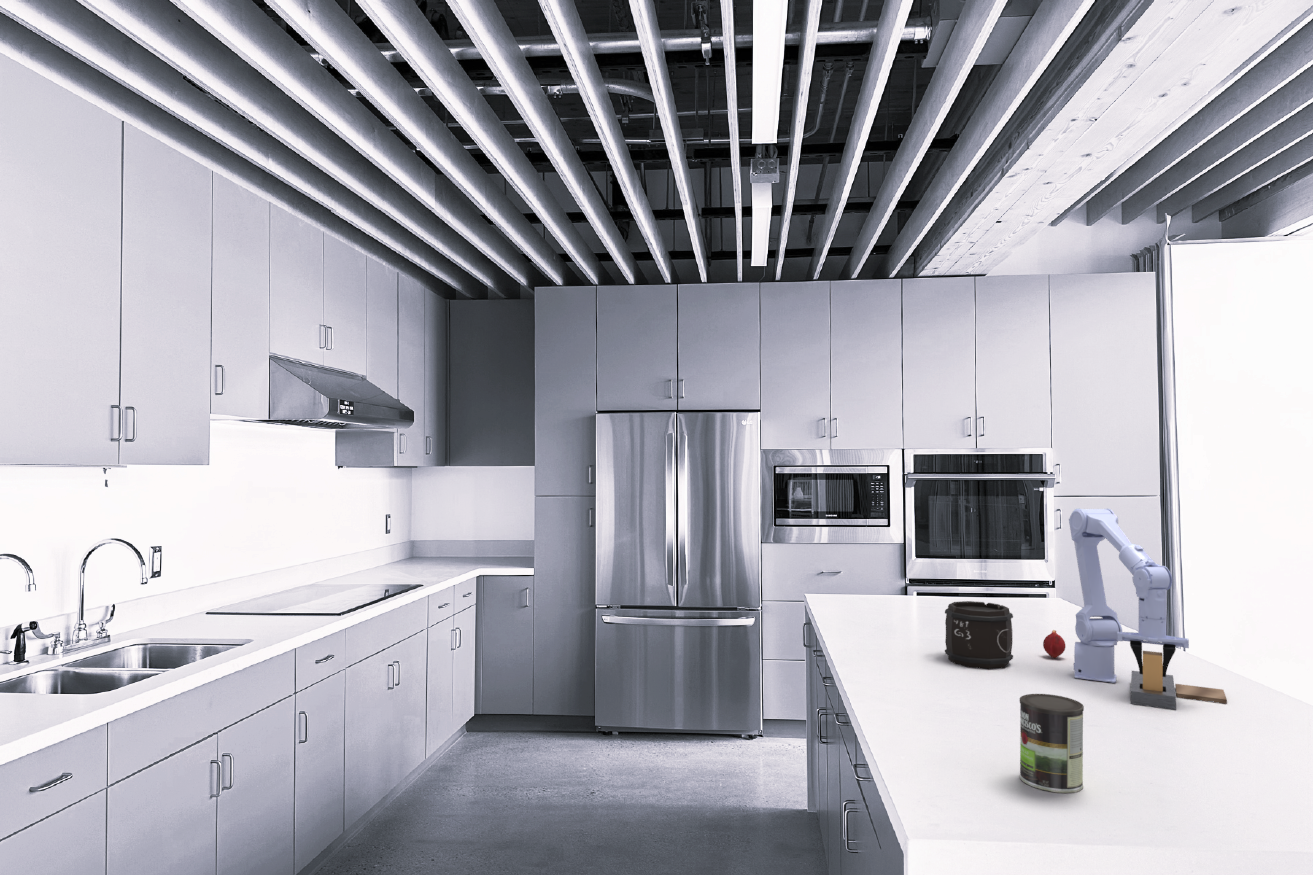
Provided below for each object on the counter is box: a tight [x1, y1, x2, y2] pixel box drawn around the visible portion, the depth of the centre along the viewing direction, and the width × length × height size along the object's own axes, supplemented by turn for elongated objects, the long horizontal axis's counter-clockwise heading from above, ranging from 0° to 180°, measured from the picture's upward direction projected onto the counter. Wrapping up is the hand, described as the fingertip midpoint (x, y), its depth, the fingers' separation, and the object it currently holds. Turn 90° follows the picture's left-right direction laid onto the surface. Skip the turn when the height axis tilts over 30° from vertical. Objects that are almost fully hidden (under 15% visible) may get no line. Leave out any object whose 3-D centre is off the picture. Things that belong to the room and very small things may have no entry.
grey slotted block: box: [1130, 670, 1177, 711], centre depth 203 cm, size 9×22×3 cm, turn 150°
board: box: [1174, 683, 1228, 705], centre depth 203 cm, size 10×10×1 cm
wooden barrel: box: [944, 600, 1014, 670], centre depth 235 cm, size 18×18×16 cm
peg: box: [1142, 650, 1163, 692], centre depth 199 cm, size 4×4×9 cm
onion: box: [1042, 629, 1067, 659], centre depth 240 cm, size 6×6×8 cm
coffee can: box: [1019, 693, 1085, 794], centre depth 148 cm, size 10×10×14 cm
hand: (1152, 674), depth 199 cm, fingers closed on peg, 4 cm apart
